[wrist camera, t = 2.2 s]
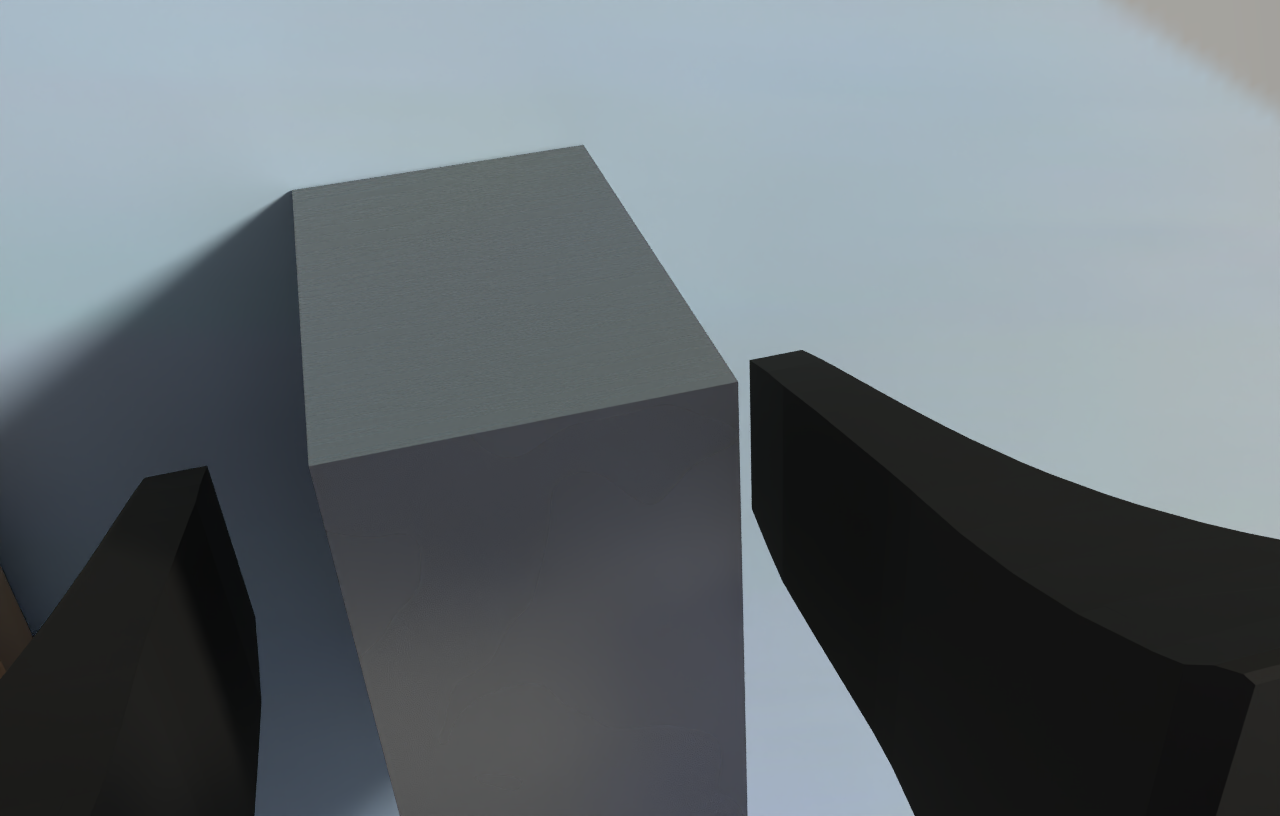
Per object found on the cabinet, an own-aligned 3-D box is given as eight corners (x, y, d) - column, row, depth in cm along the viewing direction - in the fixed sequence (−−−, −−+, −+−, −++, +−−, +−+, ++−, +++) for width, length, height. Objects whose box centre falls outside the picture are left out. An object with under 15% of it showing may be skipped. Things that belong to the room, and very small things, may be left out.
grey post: (631, 667, 17) (751, 995, 13) (416, 719, 16) (468, 1079, 12) (583, 145, 13) (738, 382, 9) (292, 190, 12) (308, 466, 8)
